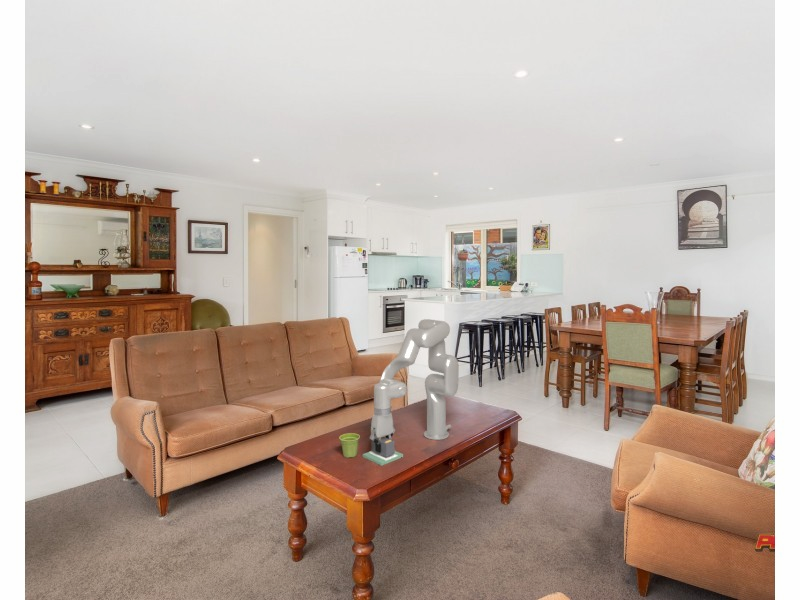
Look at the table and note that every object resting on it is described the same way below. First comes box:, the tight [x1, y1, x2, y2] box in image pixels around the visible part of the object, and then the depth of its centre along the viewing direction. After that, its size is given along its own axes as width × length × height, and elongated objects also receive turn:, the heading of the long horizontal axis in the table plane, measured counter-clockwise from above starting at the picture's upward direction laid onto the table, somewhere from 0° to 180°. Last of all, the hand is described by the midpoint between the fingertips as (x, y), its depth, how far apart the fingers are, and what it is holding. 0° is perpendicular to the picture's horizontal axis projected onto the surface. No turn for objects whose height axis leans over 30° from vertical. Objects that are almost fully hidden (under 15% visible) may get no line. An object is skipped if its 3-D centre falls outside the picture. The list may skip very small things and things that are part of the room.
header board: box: [362, 450, 404, 467], centre depth 207 cm, size 13×13×5 cm
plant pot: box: [338, 432, 361, 459], centre depth 208 cm, size 9×9×9 cm
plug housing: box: [370, 436, 396, 457], centre depth 206 cm, size 5×10×6 cm, turn 44°
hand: (382, 449), depth 207 cm, fingers closed on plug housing, 5 cm apart
